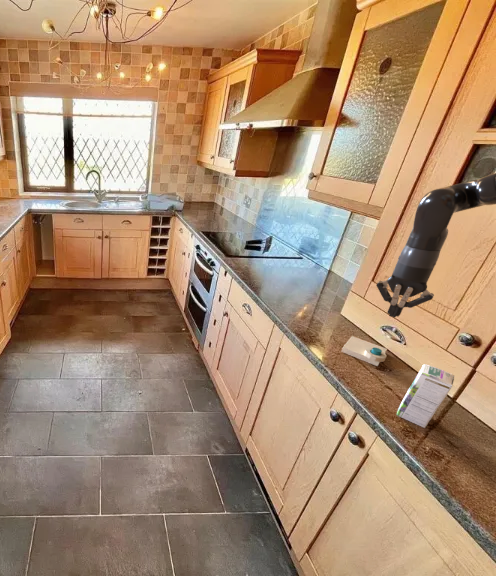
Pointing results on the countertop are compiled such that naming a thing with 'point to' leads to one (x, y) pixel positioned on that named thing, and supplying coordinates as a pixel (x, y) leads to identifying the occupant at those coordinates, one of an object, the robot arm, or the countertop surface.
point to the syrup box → (425, 395)
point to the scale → (364, 350)
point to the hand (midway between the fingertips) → (392, 315)
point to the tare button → (376, 351)
